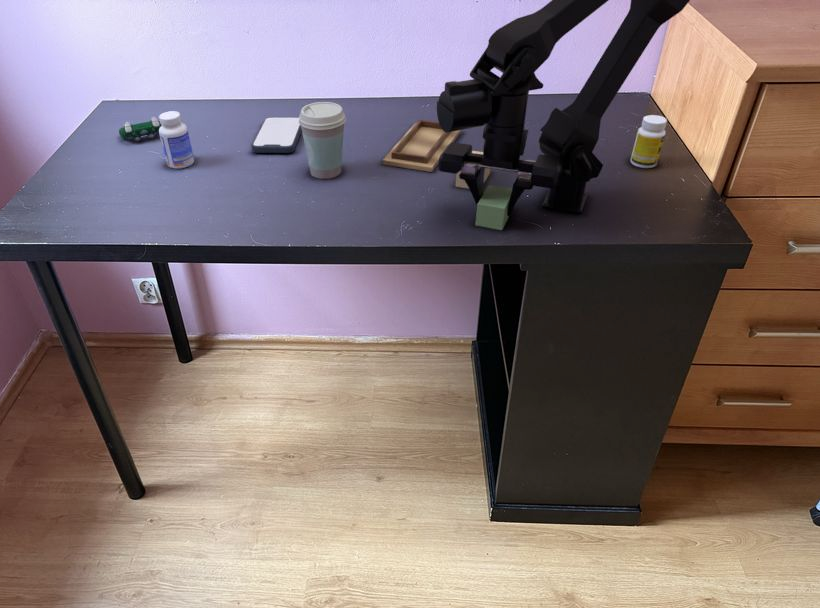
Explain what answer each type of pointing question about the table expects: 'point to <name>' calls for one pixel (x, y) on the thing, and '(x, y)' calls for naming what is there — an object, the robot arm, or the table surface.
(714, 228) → the table surface
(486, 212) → the green rectangular block
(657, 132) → the supplement bottle
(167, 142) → the pill bottle
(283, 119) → the phone case
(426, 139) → the wooden tray
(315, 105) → the coffee cup
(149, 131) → the green toy car
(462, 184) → the beige rectangular block
